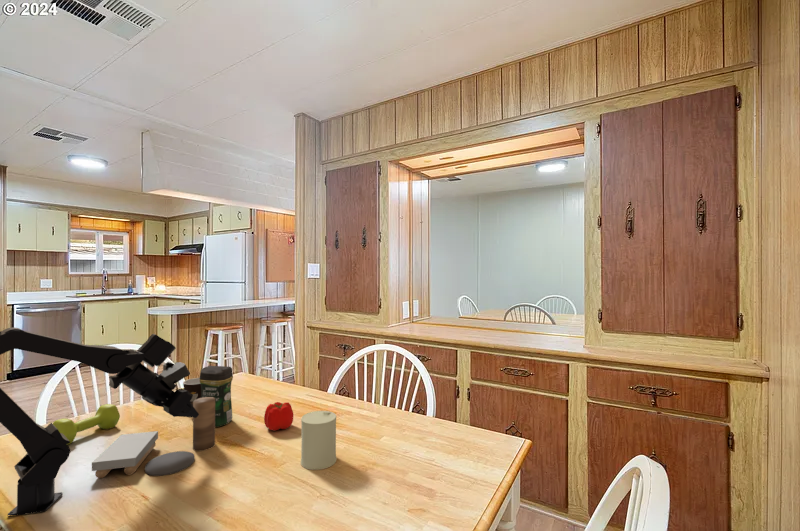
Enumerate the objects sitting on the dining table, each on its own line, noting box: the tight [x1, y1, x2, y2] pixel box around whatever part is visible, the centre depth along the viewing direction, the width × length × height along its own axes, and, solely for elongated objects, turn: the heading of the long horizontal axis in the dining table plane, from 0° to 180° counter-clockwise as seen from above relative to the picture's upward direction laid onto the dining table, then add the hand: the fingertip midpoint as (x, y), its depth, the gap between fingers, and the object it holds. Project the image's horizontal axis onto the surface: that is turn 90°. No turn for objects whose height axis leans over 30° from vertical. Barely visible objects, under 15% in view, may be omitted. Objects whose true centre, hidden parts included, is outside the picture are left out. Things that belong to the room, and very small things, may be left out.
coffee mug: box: [182, 377, 201, 406], centre depth 138 cm, size 12×9×10 cm
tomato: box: [263, 401, 294, 431], centre depth 122 cm, size 9×9×8 cm
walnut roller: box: [192, 397, 216, 452], centre depth 109 cm, size 6×6×13 cm
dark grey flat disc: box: [144, 450, 196, 477], centre depth 99 cm, size 11×11×1 cm
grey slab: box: [91, 430, 159, 479], centre depth 100 cm, size 16×9×4 cm, turn 15°
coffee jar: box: [199, 365, 234, 428], centre depth 126 cm, size 10×8×19 cm
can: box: [300, 410, 337, 471], centre depth 101 cm, size 9×9×12 cm
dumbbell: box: [52, 403, 121, 446], centre depth 116 cm, size 16×8×7 cm, turn 162°
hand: (189, 412), depth 106 cm, fingers open, 9 cm apart
